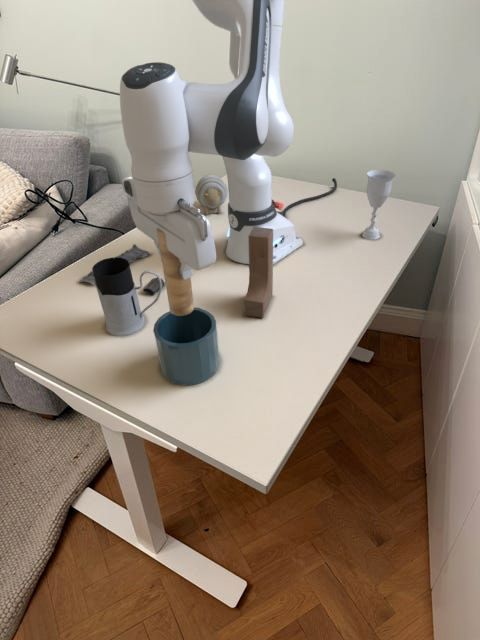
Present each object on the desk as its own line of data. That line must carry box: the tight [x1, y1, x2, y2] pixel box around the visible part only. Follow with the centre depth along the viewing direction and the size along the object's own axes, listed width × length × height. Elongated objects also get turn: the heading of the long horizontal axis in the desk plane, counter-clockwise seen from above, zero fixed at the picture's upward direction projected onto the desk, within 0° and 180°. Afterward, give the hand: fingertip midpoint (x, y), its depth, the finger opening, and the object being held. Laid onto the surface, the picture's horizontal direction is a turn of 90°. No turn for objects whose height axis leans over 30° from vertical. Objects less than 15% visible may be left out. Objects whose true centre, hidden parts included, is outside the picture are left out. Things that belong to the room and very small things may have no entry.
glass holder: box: [91, 256, 163, 337], centre depth 94 cm, size 9×14×15 cm, turn 88°
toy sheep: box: [195, 174, 229, 215], centre depth 142 cm, size 11×17×11 cm, turn 10°
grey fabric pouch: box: [79, 243, 151, 285], centre depth 118 cm, size 21×7×2 cm, turn 143°
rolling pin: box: [157, 228, 195, 316], centre depth 74 cm, size 4×4×16 cm
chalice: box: [361, 169, 396, 241], centre depth 121 cm, size 7×7×18 cm
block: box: [142, 276, 166, 295], centre depth 109 cm, size 4×6×2 cm, turn 163°
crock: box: [152, 306, 220, 386], centre depth 84 cm, size 12×12×10 cm
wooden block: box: [243, 227, 274, 319], centre depth 96 cm, size 9×4×18 cm, turn 163°
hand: (176, 269), depth 74 cm, fingers closed on rolling pin, 4 cm apart
